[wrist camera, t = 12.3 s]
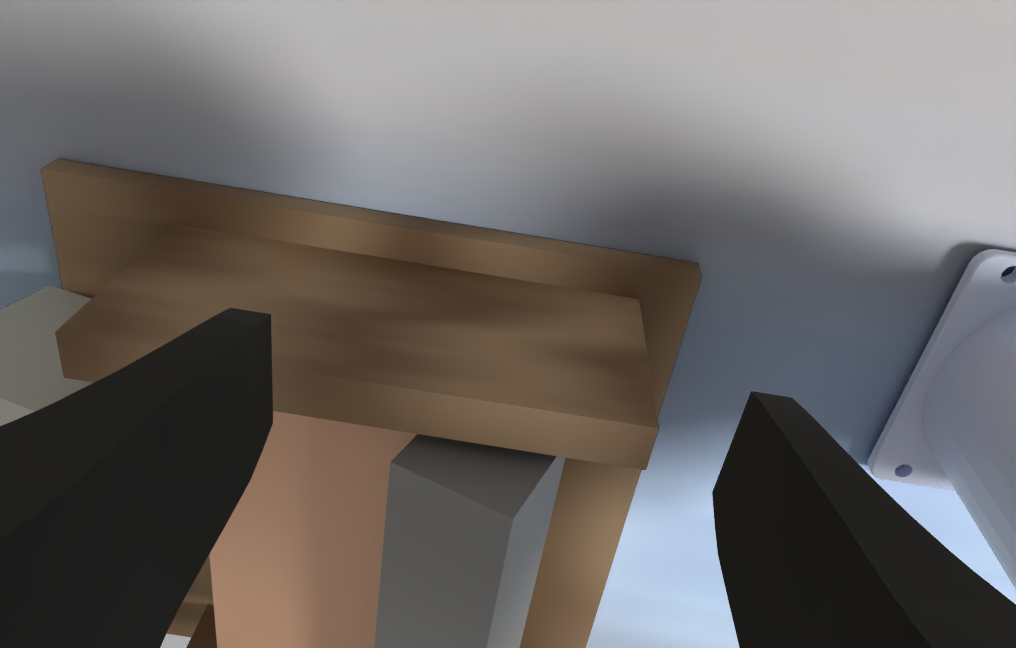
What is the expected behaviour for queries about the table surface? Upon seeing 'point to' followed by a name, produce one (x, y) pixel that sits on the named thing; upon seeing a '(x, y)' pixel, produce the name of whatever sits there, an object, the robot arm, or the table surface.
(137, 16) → the table surface
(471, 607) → the trapdoor
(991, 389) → the robot arm
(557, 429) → the frame
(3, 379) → the pale sage cube
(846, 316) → the table surface
